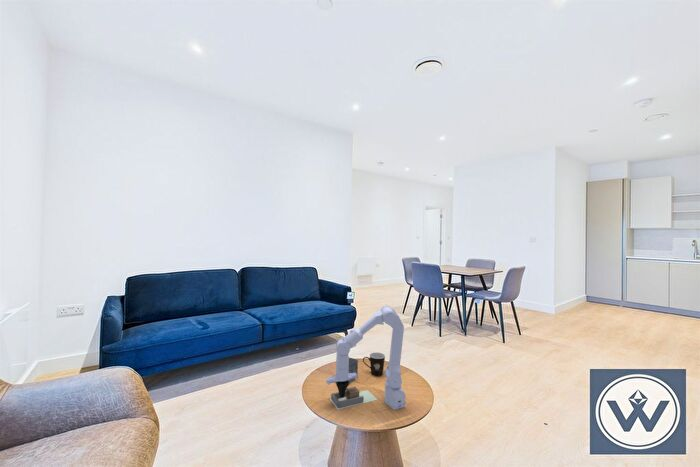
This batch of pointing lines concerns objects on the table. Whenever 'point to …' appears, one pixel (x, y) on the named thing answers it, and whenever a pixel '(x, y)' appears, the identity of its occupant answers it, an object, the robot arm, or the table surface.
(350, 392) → the walnut cube
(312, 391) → the table surface
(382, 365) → the coffee mug
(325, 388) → the table surface
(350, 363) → the small box
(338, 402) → the bay board
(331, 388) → the table surface
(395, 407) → the robot arm
